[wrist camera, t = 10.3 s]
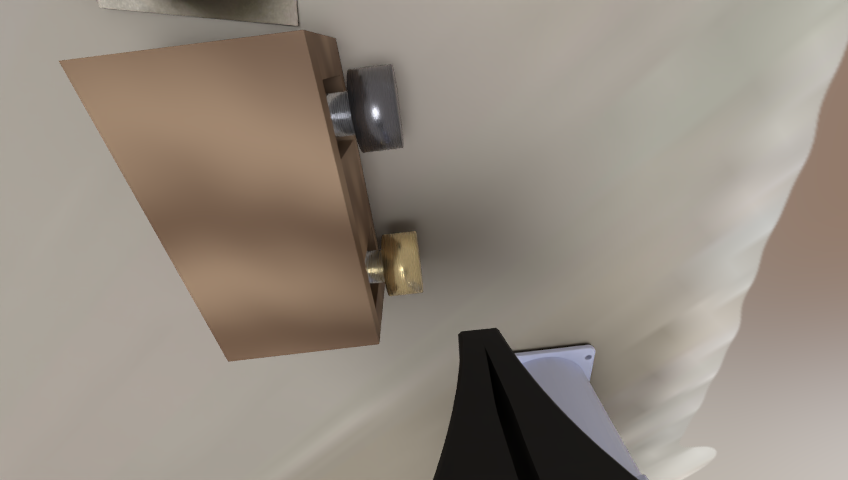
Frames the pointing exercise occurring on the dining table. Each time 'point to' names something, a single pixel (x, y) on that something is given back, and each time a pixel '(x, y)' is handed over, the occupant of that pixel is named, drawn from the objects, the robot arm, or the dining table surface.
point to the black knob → (368, 109)
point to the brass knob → (396, 264)
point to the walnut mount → (246, 184)
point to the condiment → (215, 9)
